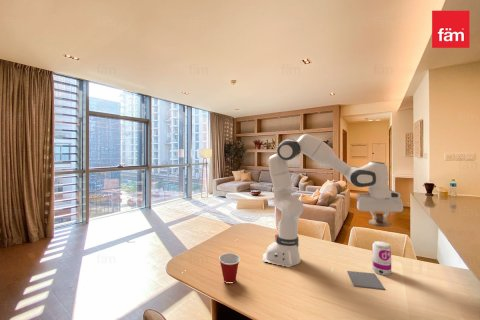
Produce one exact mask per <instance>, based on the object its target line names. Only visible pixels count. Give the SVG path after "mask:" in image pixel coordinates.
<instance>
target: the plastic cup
mask: <svg viewBox="0 0 480 320" xmlns="http://www.w3.org/2000/svg"><path fill="white" fill-rule="evenodd" d="M218 259H219V264H220V267H221V273H222V277H223V282H224V281H226V282H234V281H235V282H236V281H237V273H238V268H239V267H238V266H239V263H240V261H241V257H240V256H239V255H238V254H236V253H232V252H231V253H230V252H226V253H222V254H221V255H219V257H218ZM235 282H234V283H235Z"/></svg>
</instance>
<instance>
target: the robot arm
mask: <svg viewBox="0 0 480 320" xmlns="http://www.w3.org/2000/svg"><path fill="white" fill-rule="evenodd" d="M299 154H303V155H305V156H306V157H309V159H311V160H312V161H315V162H317V163H319V164H322V165H325V166H329V167H330V168H332V169H334V170H335V171H337V172H338V173H340V174H341V175H342V176H343V177H344V179H345V180H346V181H347V182H348V184H350V185H353V186H354V187H356V188H366V187H368V192H365V193H364V192H360V193H358V194H356V196H355V198H356V208H357V210H358V211H359V212H369V213H370V215H371V216H372V219H373V220H377V217H376V215H375V212H378V213H382V212H383V213H384V214H383V220H385V221H388V220H387V219H388V218H387V217H388V216H389V214H390V213H391V212H392V213H401V212H403V211H404V203H403V200H402V199H401V197H402V195H401V193H399V192H398V191H394V190H391V189H390V186H389V179H390V177H389V169H388V165H387V164H386V163H385V162H381V161H380V162H379V161H369V162H368V163H367V164H365V165H363V166H360V167H358V166H352V165H350V164H348V163H346V162H345V161H344V160H342V159H340V158H339V157H338V156H337V155H336V154H335V152H334V150H333V148H332V147H331V146H329V145H328V144H327V143H326V142H325V141H322V140H321V139H320V138H317V137H316V136H314V135H311V134H309V133H304V134H302V135H300V136H299V138H298V139H297V140H295V139H294V138H286V139H284V140H282V141H281V142H279V144H278V146H277V147H276V153H274V154H272V155H271V156H269V158H268V160H267V161H268V169H269V176H270V179H271V182H272V183H271V184H272V186H273V187H272V188H273V201H272V202H273V204H274V206H275V207H276V208H277V210H279V211H280V212H281V215H280V220H279V221H278V223H277V224H278V225H277V226H278V233H275V235H274V237H275V239H274V240H275V241H273V242H272V243H270V244H269V245H268V246H267V248H266V251H265V252H264V253H263V255H262V262H263V261H264V262H268V263H273V264H278V265H282V266H281V267H284V266H286V267H285V268H292V266H296V265H299V264H300V263H301V261H302V259H301V256H300V252H299V251H300V250H299V245H300V239H299V235H298V232H299V231H298V228H299V227H298V224H299V219H300V216H301V215H302V213H303V212H304V207H305V206H304V204H303V202H302V201H301V200H300V199H299V198H298V197H297V196H293V194H292V190H291V189H292V184H293V180H292V179H291V174H290V173H291V172H290V170H289V169H290V168H289V166H288V162H289V161H291V160H293V159H294V158H296V157H297V156H298V155H299ZM264 262H263V263H264ZM268 263H267V264H268ZM273 264H272V265H273ZM278 265H277V266H278Z"/></svg>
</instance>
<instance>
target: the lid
mask: <svg viewBox="0 0 480 320" xmlns="http://www.w3.org/2000/svg"><path fill="white" fill-rule="evenodd" d="M375 216H376V217H377V220H373V218H372V219H369V220H368V223H367V224H369V225H371V226H375V227H379V228H390V227H392V222H390V221H388V220H383V216H384V214H383V213H382V212H376V213H375Z"/></svg>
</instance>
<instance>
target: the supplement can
mask: <svg viewBox="0 0 480 320" xmlns="http://www.w3.org/2000/svg"><path fill="white" fill-rule="evenodd" d="M371 246H372V249H371V250H372V252H371V253H372V271H374V272H375V274H378V275H381V276H390V275H391V274H392V247H391V245H390V244H389V243H388V242H387V241H382V240H374V242H373V243H372V245H371ZM389 274H390V275H389Z"/></svg>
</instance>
